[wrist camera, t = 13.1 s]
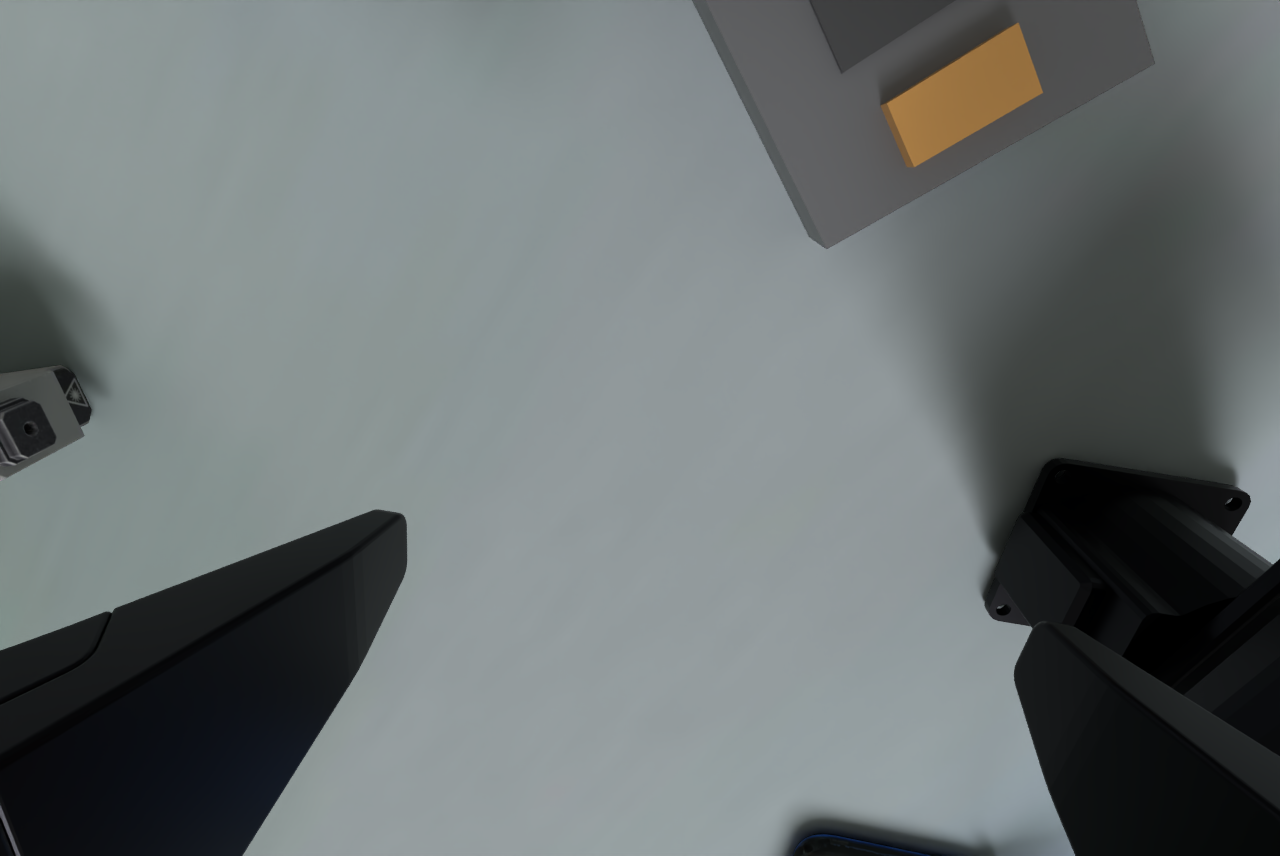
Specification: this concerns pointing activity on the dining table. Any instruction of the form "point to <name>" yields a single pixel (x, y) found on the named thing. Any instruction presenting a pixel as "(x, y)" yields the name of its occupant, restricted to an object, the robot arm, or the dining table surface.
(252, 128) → the dining table surface
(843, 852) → the handheld game console
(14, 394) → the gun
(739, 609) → the dining table surface
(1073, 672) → the robot arm
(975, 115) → the power strip
